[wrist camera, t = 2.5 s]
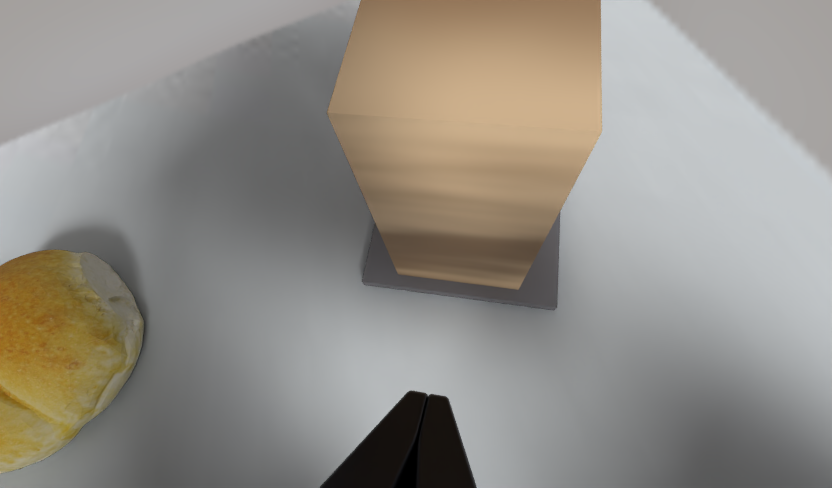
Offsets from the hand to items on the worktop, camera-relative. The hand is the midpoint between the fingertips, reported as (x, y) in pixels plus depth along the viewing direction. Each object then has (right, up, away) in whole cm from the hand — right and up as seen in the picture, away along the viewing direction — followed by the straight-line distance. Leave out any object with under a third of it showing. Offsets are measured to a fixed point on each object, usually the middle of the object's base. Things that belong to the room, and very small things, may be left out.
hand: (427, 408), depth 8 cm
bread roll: (-16, -2, +9) cm, 19 cm away
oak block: (+2, +4, +9) cm, 10 cm away
